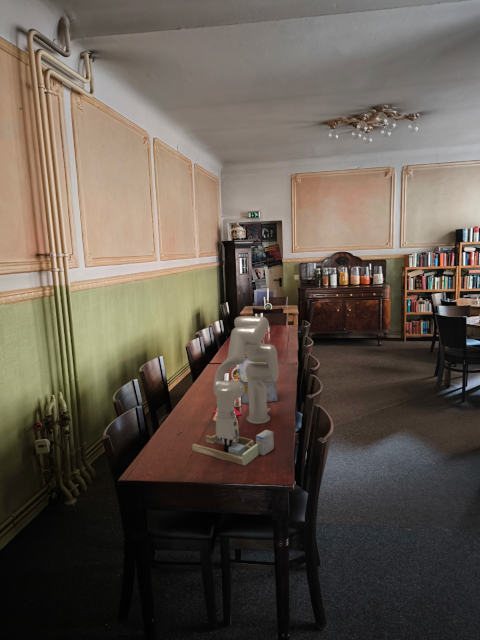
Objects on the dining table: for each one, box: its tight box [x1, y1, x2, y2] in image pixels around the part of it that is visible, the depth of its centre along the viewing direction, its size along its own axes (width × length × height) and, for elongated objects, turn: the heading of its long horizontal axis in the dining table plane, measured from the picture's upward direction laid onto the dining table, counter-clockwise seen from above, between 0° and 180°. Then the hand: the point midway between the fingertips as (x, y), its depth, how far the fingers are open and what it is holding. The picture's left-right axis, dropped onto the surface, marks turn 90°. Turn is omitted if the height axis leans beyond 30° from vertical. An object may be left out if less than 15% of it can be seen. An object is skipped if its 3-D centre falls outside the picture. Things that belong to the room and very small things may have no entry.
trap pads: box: [215, 439, 244, 446], centre depth 205 cm, size 5×18×1 cm, turn 56°
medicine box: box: [255, 429, 275, 456], centre depth 196 cm, size 8×4×9 cm, turn 141°
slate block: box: [228, 443, 246, 457], centre depth 192 cm, size 6×6×5 cm
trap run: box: [191, 433, 255, 466], centre depth 200 cm, size 18×28×3 cm, turn 56°
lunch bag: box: [238, 357, 278, 404], centre depth 261 cm, size 22×17×26 cm
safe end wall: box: [242, 443, 260, 466], centre depth 189 cm, size 11×1×5 cm, turn 146°
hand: (227, 451), depth 195 cm, fingers closed
